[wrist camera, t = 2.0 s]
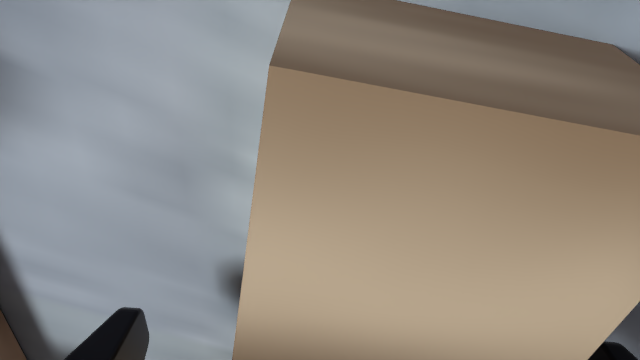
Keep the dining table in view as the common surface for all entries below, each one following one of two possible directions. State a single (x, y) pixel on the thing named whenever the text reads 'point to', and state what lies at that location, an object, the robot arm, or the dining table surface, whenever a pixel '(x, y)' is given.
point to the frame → (8, 343)
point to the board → (440, 190)
